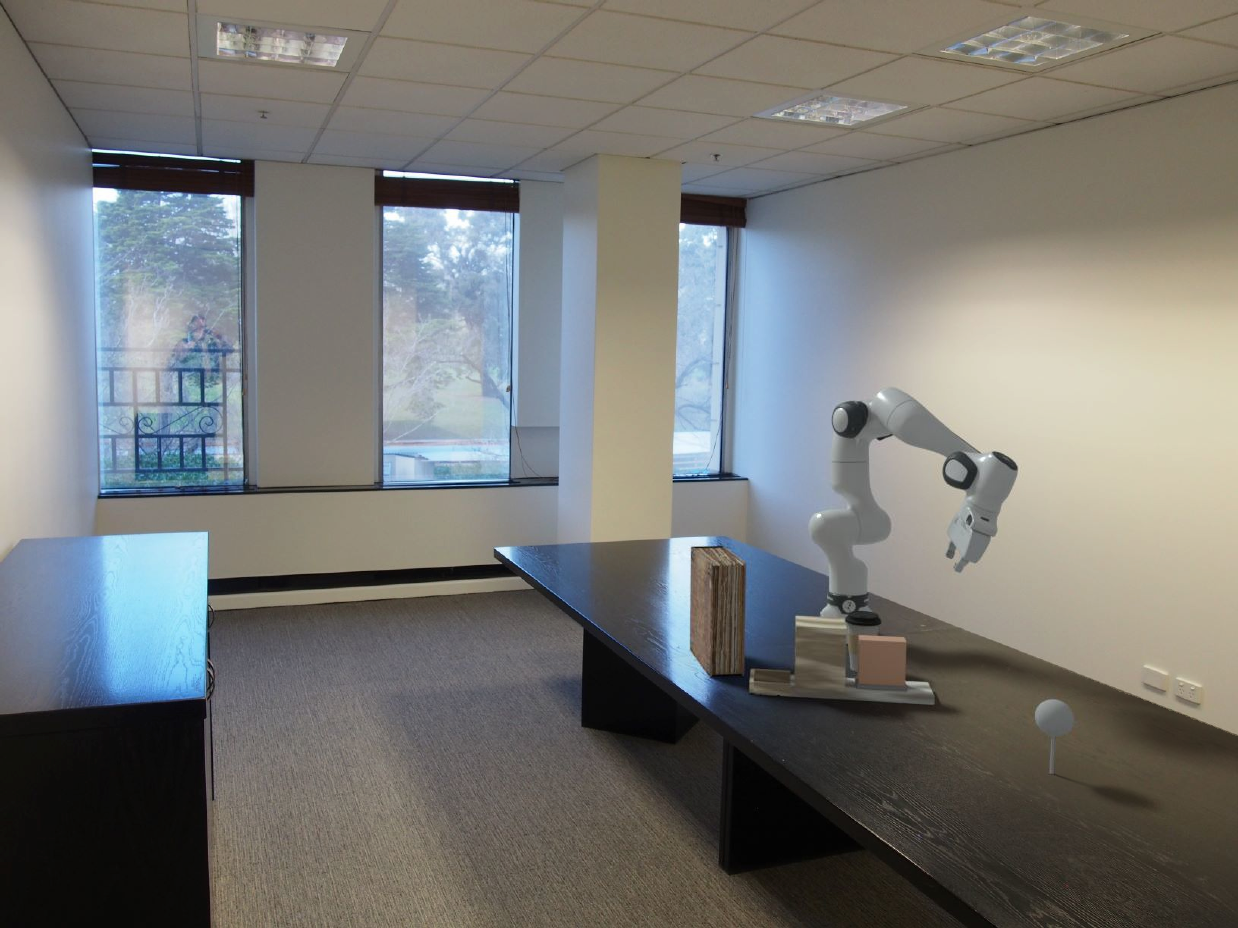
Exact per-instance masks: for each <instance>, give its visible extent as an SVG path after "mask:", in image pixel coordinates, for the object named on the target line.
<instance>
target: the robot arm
mask: <svg viewBox="0 0 1238 928" xmlns="http://www.w3.org/2000/svg"><path fill="white" fill-rule="evenodd" d="M831 426H832V429H833V431H834V432H833V434H832V435H833V436H832V441H831V446H830V447H831V448H830V449H831V450H830V486H831V488H832V489H831V490H833V491H834V492H835V493H836V494H838V495H840V496H841V497H843V499H844V501H845V503H846V508H834V509H833V508H832V509H831V508H830V509H826V510H822V511H818V512H816V513H814V514H812V516H811V517H810V520H809V522H808V525H807V526H808V527H807V528H808V529H807V530H808V535H809V537H810V539H811V540H812V542H813V543H814V544H815V545H817V546H818V547H819V548H820V549H821V551H822V552H823V554H824V556H825V558H826V560H827V565H828V577H829V578H828V579H829V580H828V584H829V585H828V590H827V594H826V602H827V605H826V606H825V607H823V609H822V610H821V611H820V613H819V617H835V618H844V620H845V619H846V617H847V616H848V613H849V612H852V611H869V612H873V611H872V609H870V608H869V601H870V597H869V592H868V584H869V583H868V581H869V580H868V579H869V578H868V577H869V576H868V575H869V573H868V572H869V569H868V566H867V565H866V563H865V562H863V560H861V559H860V558H857V557H856V556H855V555H854V550H853V546H866V545H874V544H878V543H880V542H884V541H886V540H887V539H888V538H889V536H890V534H891V532H892V521H891V518H890V516H889V515H888V513H887V512H886V511H885V510H884V509H883V508H881V507H880V505H879V504H878V502H877V501H876V500H875V498H874V495H873V493H872V488H871V483H870V481H871V480H870V477H871V476H870V450H869V449H870V445H871V443H872V441H874V440H875V439H876V440H877V441H883V440H885V439H888V438H891V437H893V436H894V437H895V438H896V439H897V440H900V441H901V442H903V443H905V444H906V445H909V446H912V447H915V448H917V449H918V448H920V449H923V450H926V451H931V452H934V453H936V454H939V455H941V456H944V457H945V458H946V459H945V461H944V463H943V466H942V469H941V470H942V472H941V473H942V478H943V480H944V482H945V483H946V484H947V485H949V486H950V487H952V488H954V489H957V490H961V491H964V492H965V493H966V494H965V497H964V499H963V501H962V503H961V505H960V507H959V509H958V510H957V512H956V513H955V514H954V516H953V518H952V520H951V522H950V523H949V525H948V527H947V529H946V535H947V536H948V537H949V541H948V545H947V549H946V552H945V553H944V555H945V557H946V558H947V559H950V560H952V559H954V557H955V555H956V550H957V551H958V553H959V554H960V556H959V559H958V561H957V562H954V565H953V571H954V572H956V573H958V574H960V573H962V572H963V570H964V568H965V567H967V565H968V564H969V563H972V564H976V563H978V562H979V561H980V560H981V558H982V557H983V556H984V554H985V552H986V551H987V549H988V546H989V544H990V542H991V539H992V538H994V537H996V535H997V533H998V524H997V522H998V517H999V515H1000V513H1001V509H1002V506H1003V503H1004V502H1005V501H1006V500H1007V499H1008V497H1009V495H1010V494H1011V491H1012V490H1013V487H1014V486H1015V485H1014V484H1015V482H1016V479H1017V477H1018V474H1019V473H1018V472H1019V466H1018V464H1017V463H1016V462H1015V460H1013V459H1012V458H1011V457H1009V456H1008V455H1005V454H1004V453H1003V452H999V451H995V450H994V451H993V450H992V451H990V452H980V451H979V450H978V449H977V448H975V447H974V446H972V444H970V443H969V442H968V441H966V440H964V439H963V438H962V437H960V435H958V434H957V433H955V432H954V431H952V430H951V429H950V428H949V427H948V426H946V424H944V423H943V422H942V421H940V420H939V418H938V417H936V416H935V415H934V414H933V413H932V412H931V411H929V409H927V408H926V406H924V405H923V404H922V403H921V402H919V401H918V400H917V399H916V398H914V397H913V396H911V395H910V394H908V393H907V392H905V391H903V390H901V389H899V388H897V387H894V386H893V387H891V386H889V387H888V386H887V387H884V388H883V389H881V390H880V391H878V392H877V393H876V394H875V395H874V397H873V399H865V400H848V401H847V400H846V401H844V402H841V403H839V404H838V405H836V406H835V407H834V410H833V411H832V415H831ZM845 624H846V628H847V630H848V626H847V622H845ZM846 645H848V634H847V636H846Z"/></svg>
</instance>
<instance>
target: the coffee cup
mask: <svg viewBox="0 0 1238 928" xmlns="http://www.w3.org/2000/svg"><path fill="white" fill-rule="evenodd" d="M845 622H847V626H848V630H847V634H848V644H847V645H848V646H847V647H848V648H847V649H848V652H849V663H850V664H849V666H850V670H851V671H852V672H856V673H857V669H858V637H859V635H869V636H879V627H880V625H882V619H881V618H880V616H879V614H878V613H876V612H874V611H872V612H869V611H852V612H849V613H848V616H847V617H846V619H845Z"/></svg>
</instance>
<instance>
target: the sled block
mask: <svg viewBox="0 0 1238 928" xmlns="http://www.w3.org/2000/svg"><path fill="white" fill-rule="evenodd" d="M906 662H907V640H906V638H905V637H904V636H889V635H888V636H887V635H885V636H884V635H878V636H869V635H859V637H858V669H857V672H856V673H857V676H854V678H855V684H856V688H857V689H874V690H891V691H907V685H906V683H905V681H906V666H907V663H906Z"/></svg>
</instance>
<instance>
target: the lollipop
mask: <svg viewBox="0 0 1238 928" xmlns="http://www.w3.org/2000/svg"><path fill="white" fill-rule="evenodd" d="M1034 719H1035V723H1036V725H1037V727H1038V728H1039V730H1040V731H1042V732H1043V733H1044V734H1046V735H1048V736H1050V737H1051V740H1050V742H1051V743H1050V759H1049V774H1050V775H1054V769H1055V767H1054V764H1055V752H1056V751H1055V750H1056V749H1055V748H1056V737H1062V736H1065V735H1066V734H1068V733H1070V731H1072V730H1073V729H1072V728H1073V727H1074V724H1075V716H1074V713H1073V711H1072V709H1071V708H1070V706H1069V705H1068V704H1067V703H1065V702H1063V701H1061V700H1059V699H1047V700H1043V701H1042V702H1041V703H1040V704H1039V705H1038V706H1037V707H1036V709H1035V712H1034Z"/></svg>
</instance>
